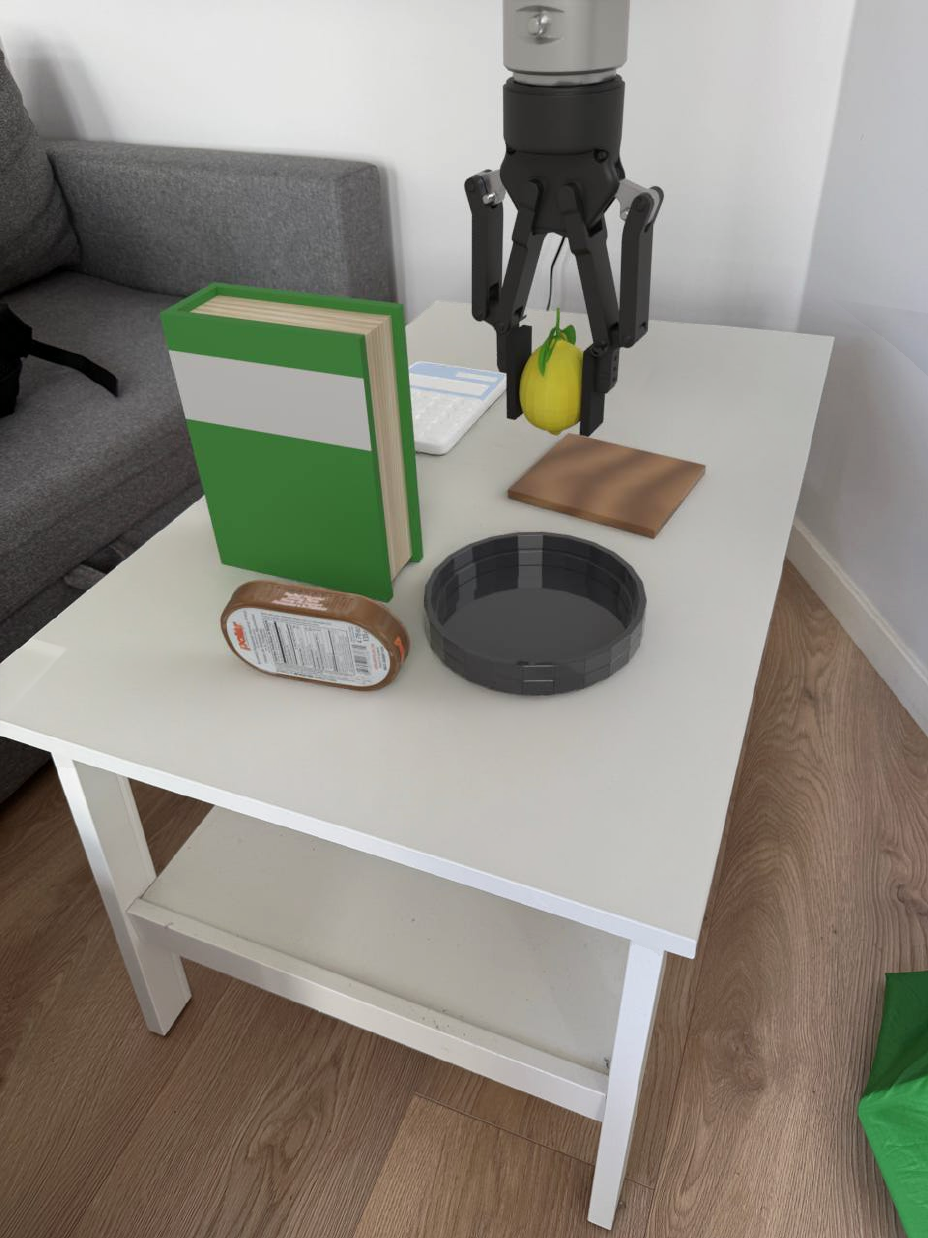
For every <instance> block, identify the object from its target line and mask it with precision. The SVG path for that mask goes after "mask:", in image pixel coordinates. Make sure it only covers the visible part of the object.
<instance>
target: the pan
mask: <svg viewBox="0 0 928 1238" xmlns="http://www.w3.org/2000/svg"><path fill="white" fill-rule="evenodd" d="M647 601H648V600H647V594H646V590H645V584H644V582H643V580H642V579H641V577H640V575H639V574H638V572H637V571H636V570H635V568H634V567H633V565H632V564H630V563H629V562H628V561H627V560H625V559H624V558H623V557H622V556H620V555H619V554H618V553H616V552H615V551H614V550H611V549H609V548H607V547H606V546H603V545H602V544H600V543H597V542H595V541H592V540H588V539H585V538H582V537H577V536H575V535H571V534H566V533H557V532H550V531H515V532H509V533H503V534H498V535H491V536H488V537H486V538H483V539H480V540H477V541H475V542H471V543H468V544H466V545H464V546H463V547H461V548H459V549H458V550H456V551H454V552H453V553H451V554H449V555H447V556H446V558H444V559H443V561H441V562H440V563H439V564H438V565H437V566H436V567H435V568H434V569H433V570H432V572H431V575H430V576H429V578H428V580H427V582H426V584H425V586H424V594H423V612H424V613H423V615H424V624H425V625H424V627H425V633H426V637H427V638H428V642H429V645H430V648H431V650H432V651H433V652H434V653H435V655H436V656H437V657H438V658H439V660H441V662H442V663H443V664H444V666H445V667H447V668H448V669H450V670H451V671H453V672H454V673H456V674H458V675H459V676H460V677H461V678H463V679H465V680H466V681H469V682H471V683H473V684H477V685H479V686H481V687H484V688H486V689H490V690H492V691H496V692H500V693H504V694H509V695H510V694H511V695H517V696H533V697H535V696H537V697H539V696H553V695H561V694H567V693H572V692H575V691H579V690H582V689H586V688H587V687H590V686H593V685H595V684H598V683H599V682H602V681H604V680H607V679H609V678H611V677H612V676H613V675H615V673H617V672H618V671H620V670H622V668H624V667H625V666H626V665H627V664H629V662H630V661H631V659H632V658H633V657H634V655H635V654H636V652H637V651H638V650H639V648H640V646H641V644H642V638H643V633H644V628H645V621H646V610H647Z"/></svg>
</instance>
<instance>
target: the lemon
mask: <svg viewBox="0 0 928 1238" xmlns="http://www.w3.org/2000/svg"><path fill="white" fill-rule="evenodd" d="M560 321H561V308H559V307H558V306H557V307H556V318H555V322H556V323H555V326H553V327H552V328H551V329H550V330H549V334H548V336H547V338H546V339H545V341H544V342H543V344H541V345H539V347H537V348H536V349H535V350H534V351H532V354H531V356H530V357H529V359H528V361H527V363H526V365H525V367H524V370H523V373H522V376H521V381H520V392H519V395H520V402H521V407H522V411H523V414H522V415H523V416H524V418H525V419H526V421H527V422H528V423H529V424H531V425H532V426H533V427H535V428H537V429H540V430H541V431H544V432H545V431H546V432H548V433H549V434H551V435H554V436H559V435H560V434H561V433H562V432H563V431H566V430H568V429H571V428H573V427H575V426H576V425H578V424H580V410H581V388H582V366H583V351H582V350H581V349H580V348H579V347H578V346H576V341H577V332H576V329H575V326H574V325H573V324H569V325H566V327H565V328H563V329H561V328H560Z"/></svg>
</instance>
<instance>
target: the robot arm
mask: <svg viewBox="0 0 928 1238" xmlns="http://www.w3.org/2000/svg"><path fill="white" fill-rule="evenodd" d="M501 5H502V7H501V8H502V65H503V66H504V68H505V69H506V70H507V71H509V72H511V73H512V76H510V77H508V78H507V79H506V80H505V83H503V85H502V137H503V140H504V144H505V153H504V157H503V160H502V161H501V163H500V167H499V168H498V169H494V170H493V169H489V168H488V169H485V170H482V171H480V172H478V173H476V174H474V175H472V176H470V177H467V178H466V179H465V180H464V184H463V188H464V192H465V196H466V199H467V203H468V206H469V210H470V214H471V317H472V319H474V320H475V321H476V322H478V323H481V322H485V323H487V324H489V325H490V326H491V327H492V328H493V330H494V331H495V335H496V336H495V337H496V338H495V339H496V367H497V369H498V372H499V373H503V374H505V375H506V389H505V392H506V393H505V394H506V395H505V396H506V397H505V398H506V419H509V420H513V421H516V420H518V418H520V417H521V416H522V415H524V414H523V411H522V407H521V402H520V395H519V392H520V381H521V376H522V373H523V370H524V367H525V365H526V363H527V361H528V359H529V357H530V356H531V354H532V353H533V325H528V324H522V325H520V323H521V322H522V321H524V320H525V319H526V318H527V316H528V315H527V314H525V311H526V307H527V304H528V299H529V296H530V292H531V289H532V286H533V285H532V284H533V281H534V278H535V274H536V271H537V267H538V263H539V259H540V255H541V252H542V248H543V244H544V241H545V239H546V238H547V235H548V234H555V235H558V236H560V237H563V238H567V242H568V246H569V250H570V252H571V254H572V255H573V256H574V257H575V261H576V266H577V273H578V276H579V280H580V285H581V290H582V295H583V301H584V303H585V304H584V306H585V311H586V315H587V319H588V324H589V328H590V329H589V330H590V333H591V339H592V343H591V344H590V345H588V347H587V348H586V349H584V350H583V351H582V352H583V366H582V388H581V410H580V422H579V433H578V435H580V436H584V437H589V438H590V437H591V436H592V435H593V434H594V432H595V431H597V430H598V428H599V427H600V426H602V424H603V423H604V420H605V419H604V416H605V415H604V414H605V402H606V401H605V400H606V394H608V393H610V391H611V390H613V388H614V387H615V386H616V384H617V382H618V379H619V366H620V352H621V348H623V349H631V348H632V347H633V346H635V345H636V344H637V343H638V342H639V341H640V340H641V339H642V338H643V337H644V336H645V335H646V334H647V333H648V330H649V319H650V300H651V282H652V281H651V279H652V277H651V276H652V261H653V242H654V240H653V239H654V226H655V223H656V219H657V218H658V214H659V212H660V210H661V207H662V204H663V202H664V198H665V194H664V193H665V192H664V190H663V189H662V187H660V186H658V185H652V186H650V187H649V188H646V187H644V186H642V185H640V184H638V183H636V182H634V181H632V180H630V179H628V178H626V172H625V169H624V168H625V167H624V166H623V163H622V160H621V145H622V138H623V125H624V110H625V109H624V108H625V107H624V106H625V94H626V93H625V91H626V82H625V81H624V80H623V76H622V75H621V74H618V73H617V70H618V69H621V68H622V67H623V66H625V64H626V63H627V61H628V52H629V51H628V50H629V49H628V48H629V29H630V12H631V8H630V7H631V0H502V4H501ZM506 194H507V195H508V196H509V198H510V200H511V202H512V203H513V205H514V207H515V209H516V210H517V213H516V217H515V222H514V226H513V229H512V233H511V241H512V245H511V250H510V253H509V257H508V262H507V265H506V270H505V272H504V273H505V274H504V278H503V259H504V258H503V256H504V251H503V250H504V200H505V197H506ZM616 200H617V201H618V202H619V206H620V208H619V218H620V219H621V220H622V221H624V224H623V227H622V233H621V243H620V244H621V245H620V246H621V247H620V251H621V252H620V275H619V276H620V278H619V303H618V298H617V297H618V296H617V292H616V288H615V287H616V286H615V281H614V277H613V271H612V266H611V261H610V255H609V251H608V250H609V249H608V245H607V241H608V236H609V233H608V227H607V223H606V217H605V213H606V212H607V211H608V210H609V209H610V207H611V206H612V204H613V203H614V201H616Z"/></svg>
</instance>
